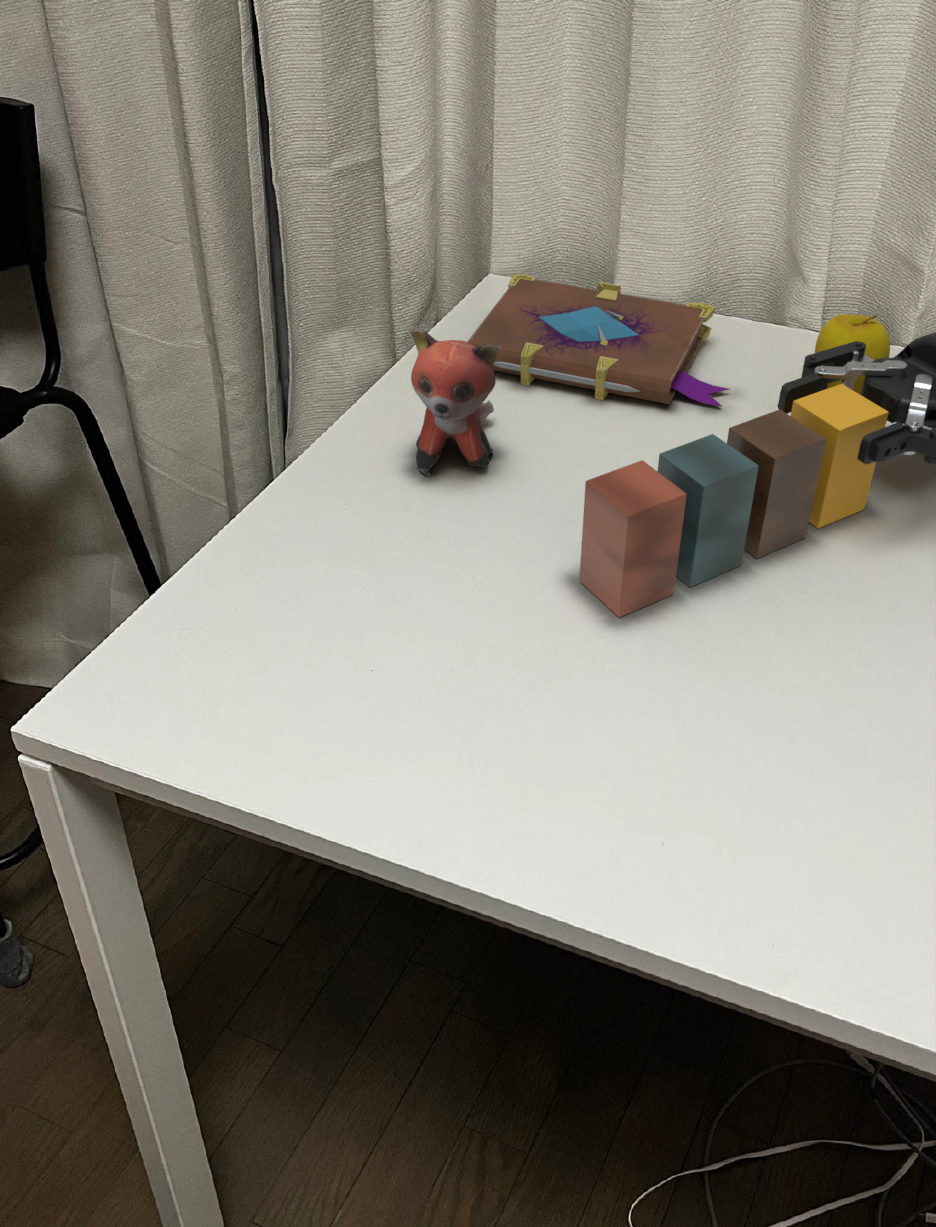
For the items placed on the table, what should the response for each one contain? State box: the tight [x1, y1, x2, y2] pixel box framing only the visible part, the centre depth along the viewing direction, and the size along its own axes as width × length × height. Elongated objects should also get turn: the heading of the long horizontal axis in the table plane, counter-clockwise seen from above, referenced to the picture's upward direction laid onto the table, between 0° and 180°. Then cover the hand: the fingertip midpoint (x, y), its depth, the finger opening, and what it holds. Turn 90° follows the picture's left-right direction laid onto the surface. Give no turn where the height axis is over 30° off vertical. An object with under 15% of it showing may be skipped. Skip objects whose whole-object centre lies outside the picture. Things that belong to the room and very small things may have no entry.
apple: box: [814, 313, 891, 395], centre depth 107 cm, size 6×6×8 cm
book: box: [466, 273, 730, 408], centre depth 114 cm, size 16×25×5 cm, turn 67°
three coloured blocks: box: [578, 409, 827, 618], centre depth 88 cm, size 18×5×9 cm, turn 121°
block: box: [790, 384, 889, 529], centre depth 93 cm, size 5×5×9 cm
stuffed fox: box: [410, 329, 501, 477], centre depth 99 cm, size 8×11×12 cm
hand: (821, 425), depth 90 cm, fingers open, 8 cm apart
